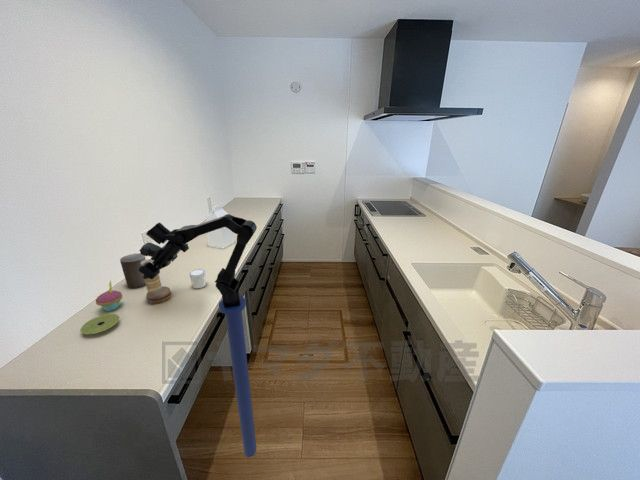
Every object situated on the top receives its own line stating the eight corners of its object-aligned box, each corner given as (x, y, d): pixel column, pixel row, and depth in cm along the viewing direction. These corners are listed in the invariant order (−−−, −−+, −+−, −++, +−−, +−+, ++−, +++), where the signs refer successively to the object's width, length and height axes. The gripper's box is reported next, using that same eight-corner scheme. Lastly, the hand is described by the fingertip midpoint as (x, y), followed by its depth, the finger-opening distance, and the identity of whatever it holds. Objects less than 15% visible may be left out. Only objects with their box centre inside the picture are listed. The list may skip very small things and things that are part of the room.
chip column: (164, 287, 112) (158, 260, 108) (152, 293, 108) (145, 265, 103) (157, 284, 115) (150, 257, 110) (144, 289, 110) (137, 262, 106)
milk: (223, 248, 167) (218, 208, 157) (208, 246, 170) (202, 207, 161) (234, 242, 177) (230, 204, 168) (220, 239, 181) (215, 202, 171)
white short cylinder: (208, 286, 124) (206, 273, 122) (193, 290, 121) (190, 277, 118) (205, 280, 130) (203, 267, 127) (190, 284, 126) (187, 271, 123)
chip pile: (173, 290, 121) (172, 284, 119) (170, 302, 112) (168, 296, 111) (150, 294, 118) (148, 288, 117) (144, 306, 109) (142, 299, 108)
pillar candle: (126, 290, 120) (118, 261, 115) (127, 281, 128) (119, 253, 122) (151, 284, 125) (144, 256, 119) (151, 276, 133) (144, 249, 127)
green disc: (100, 340, 91) (99, 335, 90) (73, 335, 93) (71, 331, 92) (128, 319, 101) (126, 315, 101) (103, 316, 103) (101, 312, 102)
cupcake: (120, 299, 114) (112, 274, 109) (128, 306, 109) (120, 281, 105) (95, 308, 107) (86, 283, 103) (103, 316, 103) (94, 290, 98)
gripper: (164, 229, 112) (144, 253, 115) (137, 246, 94) (114, 273, 98) (186, 246, 115) (166, 269, 119) (164, 266, 97) (141, 291, 101)
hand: (148, 275), depth 109 cm, fingers closed on chip column, 5 cm apart
